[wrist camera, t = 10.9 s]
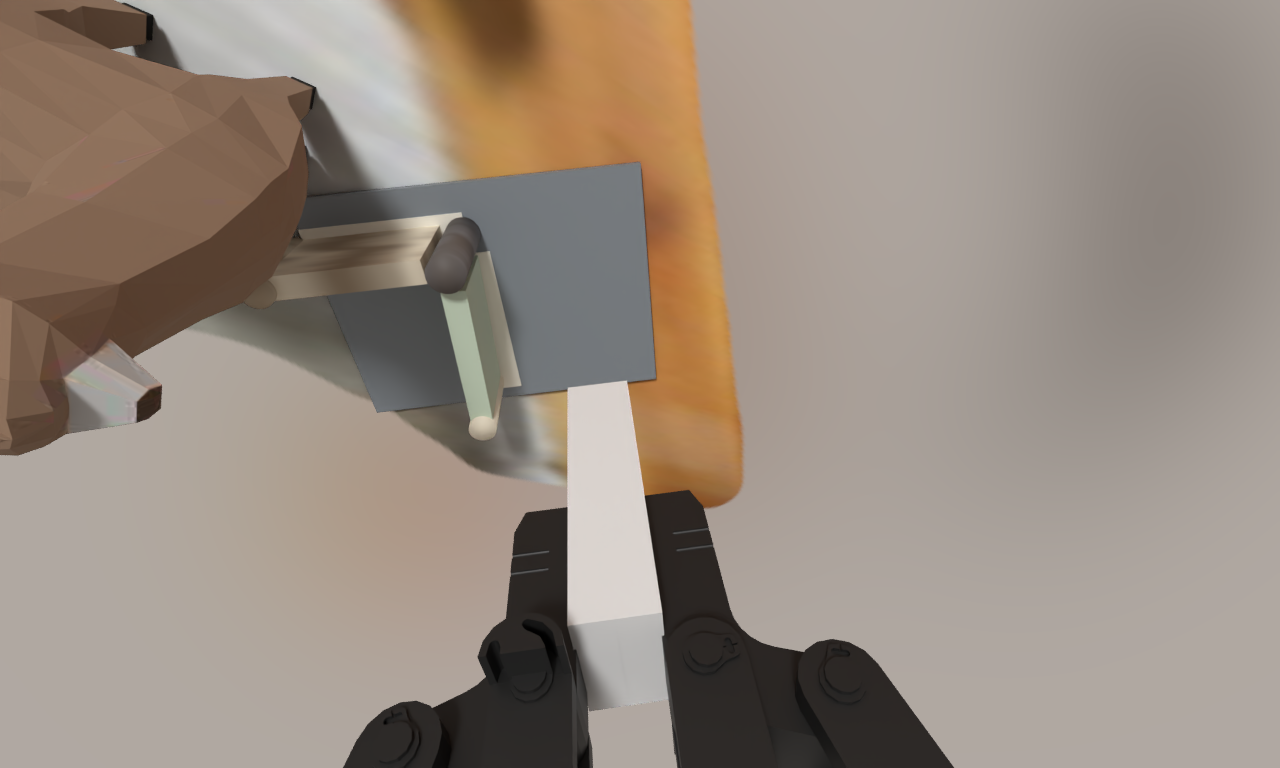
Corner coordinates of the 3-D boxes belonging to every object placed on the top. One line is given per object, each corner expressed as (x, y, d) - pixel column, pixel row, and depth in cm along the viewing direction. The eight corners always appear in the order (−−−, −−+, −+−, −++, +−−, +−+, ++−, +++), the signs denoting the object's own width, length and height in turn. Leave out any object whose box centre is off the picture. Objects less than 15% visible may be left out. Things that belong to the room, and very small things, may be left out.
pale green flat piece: (452, 256, 41) (435, 295, 36) (480, 255, 41) (468, 293, 36) (481, 392, 48) (471, 441, 42) (506, 390, 48) (498, 439, 43)
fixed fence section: (292, 268, 41) (243, 317, 35) (278, 236, 39) (224, 281, 33) (484, 247, 41) (469, 291, 35) (476, 215, 40) (459, 255, 34)
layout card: (378, 409, 49) (376, 413, 48) (289, 198, 38) (285, 201, 38) (655, 375, 50) (656, 379, 49) (640, 161, 39) (640, 163, 39)
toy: (383, 224, 40) (88, 588, 15) (26, 87, 34) (-1478, 341, 9) (414, 99, 36) (79, 323, 11) (13, -86, 29) (-2876, -510, 5)
